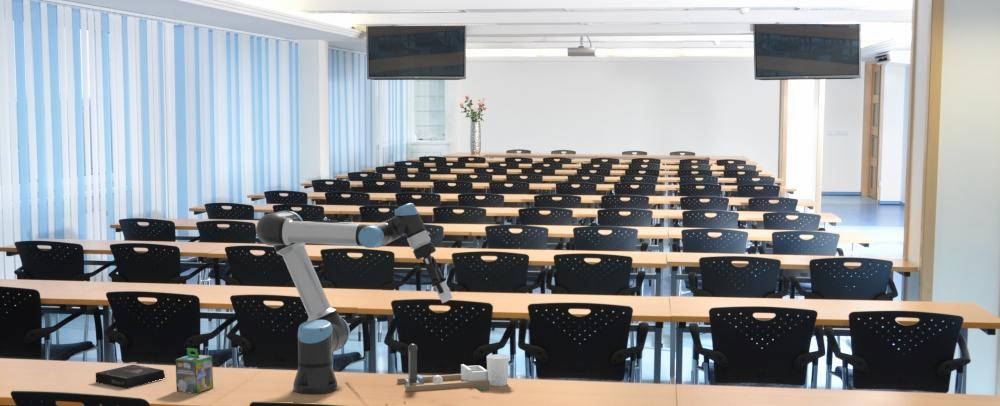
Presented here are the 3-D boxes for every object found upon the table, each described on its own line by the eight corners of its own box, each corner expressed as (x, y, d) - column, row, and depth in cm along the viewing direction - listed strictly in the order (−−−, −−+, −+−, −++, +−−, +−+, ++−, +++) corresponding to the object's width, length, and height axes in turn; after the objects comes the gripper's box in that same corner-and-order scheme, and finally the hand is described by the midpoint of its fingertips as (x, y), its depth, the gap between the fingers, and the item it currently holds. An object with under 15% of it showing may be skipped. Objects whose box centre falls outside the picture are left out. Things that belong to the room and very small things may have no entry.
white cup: (506, 387, 391) (506, 359, 390) (484, 386, 392) (484, 358, 392) (510, 382, 398) (510, 354, 398) (489, 381, 400) (489, 353, 399)
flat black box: (165, 380, 401) (164, 369, 401) (126, 389, 387) (126, 378, 386) (134, 374, 410) (134, 364, 410) (95, 383, 395) (95, 372, 395)
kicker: (409, 389, 382) (409, 346, 381) (404, 384, 388) (404, 342, 387) (424, 387, 383) (424, 345, 382) (419, 383, 390) (419, 341, 389)
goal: (469, 386, 387) (469, 370, 387) (460, 380, 397) (460, 364, 396) (488, 385, 389) (488, 368, 389) (479, 378, 399) (479, 363, 398)
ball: (434, 386, 386) (434, 376, 386) (431, 384, 390) (431, 374, 390) (444, 386, 388) (444, 376, 387) (441, 383, 391) (441, 373, 391)
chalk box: (213, 388, 387) (213, 346, 386) (196, 394, 379) (195, 351, 378) (193, 385, 391) (192, 344, 390) (175, 391, 383) (174, 349, 382)
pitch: (406, 395, 378) (406, 386, 378) (397, 386, 391) (397, 378, 391) (489, 388, 388) (489, 380, 388) (478, 380, 400) (478, 372, 400)
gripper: (428, 241, 376) (454, 298, 375) (434, 240, 401) (459, 293, 400) (408, 250, 376) (434, 307, 375) (416, 249, 401) (441, 302, 400)
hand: (447, 300), depth 387 cm, fingers open, 13 cm apart
